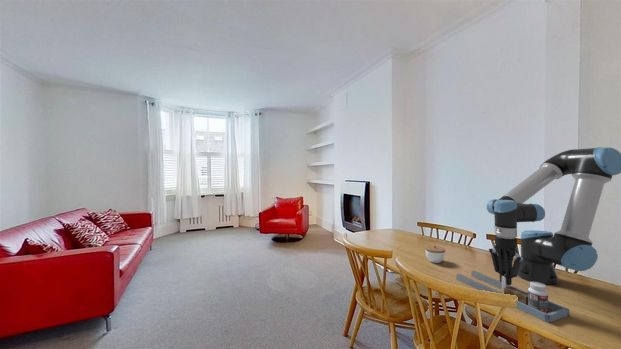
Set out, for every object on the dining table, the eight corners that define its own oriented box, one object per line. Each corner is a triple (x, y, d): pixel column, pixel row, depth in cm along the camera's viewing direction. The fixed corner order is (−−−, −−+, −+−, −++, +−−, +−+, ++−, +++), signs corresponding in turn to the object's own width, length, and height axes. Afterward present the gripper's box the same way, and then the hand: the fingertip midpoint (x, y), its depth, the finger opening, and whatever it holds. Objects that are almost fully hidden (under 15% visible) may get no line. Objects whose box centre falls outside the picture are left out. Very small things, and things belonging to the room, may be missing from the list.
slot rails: (456, 279, 123) (456, 274, 123) (474, 275, 126) (474, 270, 126) (498, 299, 104) (498, 293, 104) (517, 293, 108) (517, 288, 107)
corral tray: (498, 299, 104) (498, 293, 104) (517, 294, 107) (517, 288, 107) (548, 322, 88) (548, 315, 87) (569, 315, 91) (569, 309, 91)
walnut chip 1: (504, 297, 105) (504, 287, 105) (510, 295, 107) (510, 286, 106) (514, 301, 101) (514, 292, 101) (521, 299, 103) (521, 290, 103)
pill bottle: (543, 315, 92) (543, 289, 92) (524, 307, 97) (524, 282, 97) (551, 311, 94) (551, 285, 94) (532, 304, 100) (532, 279, 99)
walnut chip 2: (514, 301, 101) (514, 292, 101) (521, 299, 103) (521, 290, 103) (525, 306, 98) (525, 296, 98) (532, 304, 99) (532, 295, 99)
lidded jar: (448, 265, 141) (447, 248, 140) (427, 264, 143) (427, 247, 142) (442, 258, 151) (441, 243, 151) (423, 257, 153) (422, 242, 153)
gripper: (484, 233, 111) (484, 285, 112) (516, 241, 99) (516, 300, 99) (496, 231, 113) (496, 283, 114) (528, 239, 101) (529, 296, 102)
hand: (505, 291), depth 107 cm, fingers closed
